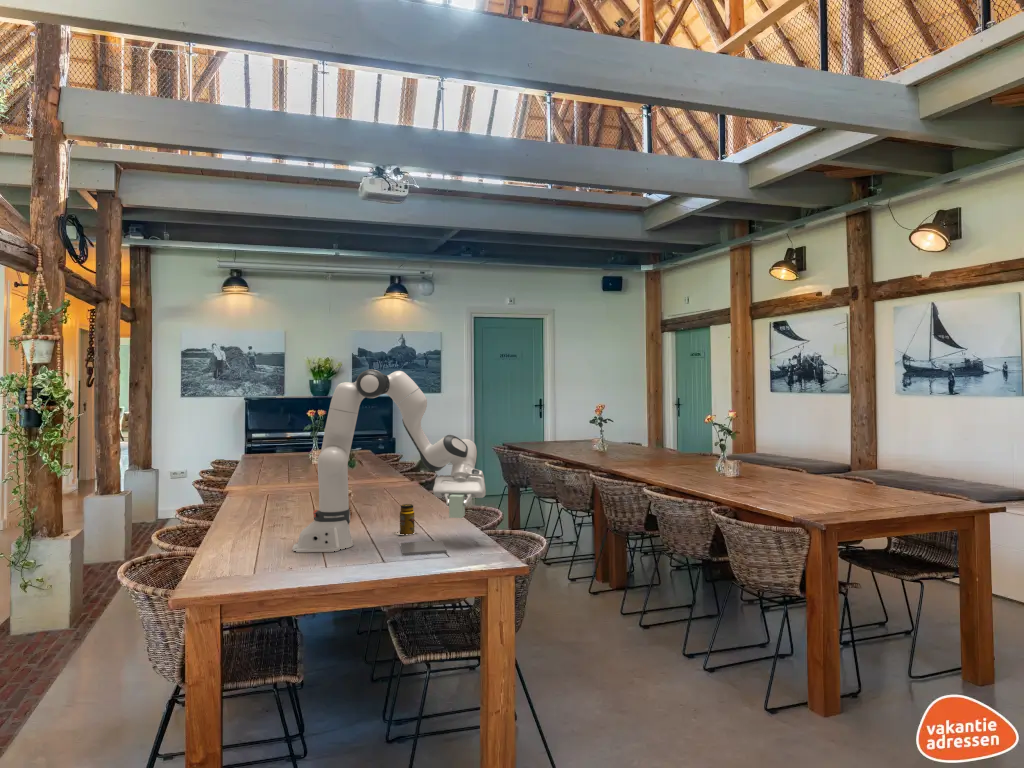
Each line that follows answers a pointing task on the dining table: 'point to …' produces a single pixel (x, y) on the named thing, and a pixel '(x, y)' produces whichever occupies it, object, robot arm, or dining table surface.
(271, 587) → the dining table surface
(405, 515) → the condiment
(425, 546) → the board
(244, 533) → the dining table surface
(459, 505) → the block
